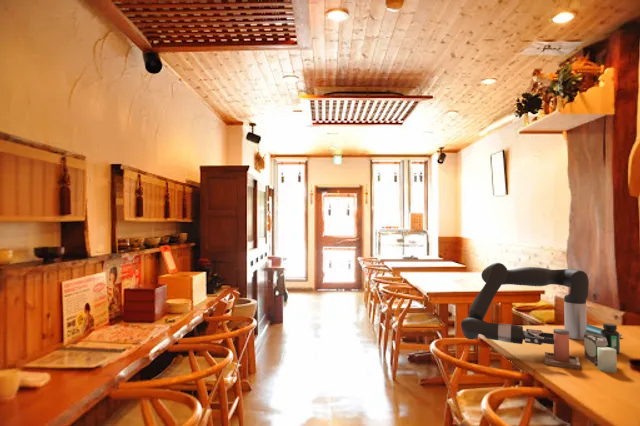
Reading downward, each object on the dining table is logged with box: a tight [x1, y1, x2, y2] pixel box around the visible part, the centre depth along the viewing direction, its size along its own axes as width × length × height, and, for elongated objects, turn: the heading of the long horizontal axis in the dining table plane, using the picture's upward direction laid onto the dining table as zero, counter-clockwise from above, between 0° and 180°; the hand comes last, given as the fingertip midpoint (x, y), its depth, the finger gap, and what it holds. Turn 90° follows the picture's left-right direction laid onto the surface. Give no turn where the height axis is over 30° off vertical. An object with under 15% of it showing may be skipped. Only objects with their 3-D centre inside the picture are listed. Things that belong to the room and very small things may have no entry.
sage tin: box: [597, 347, 618, 374], centre depth 157 cm, size 6×6×8 cm
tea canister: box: [552, 328, 570, 363], centre depth 166 cm, size 6×6×12 cm
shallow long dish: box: [586, 323, 623, 338], centre depth 212 cm, size 26×9×2 cm, turn 13°
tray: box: [544, 351, 581, 371], centre depth 165 cm, size 12×12×2 cm
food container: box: [583, 333, 608, 367], centre depth 166 cm, size 12×6×10 cm, turn 168°
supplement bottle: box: [601, 322, 621, 355], centre depth 179 cm, size 7×7×12 cm
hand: (554, 339), depth 167 cm, fingers open, 8 cm apart
